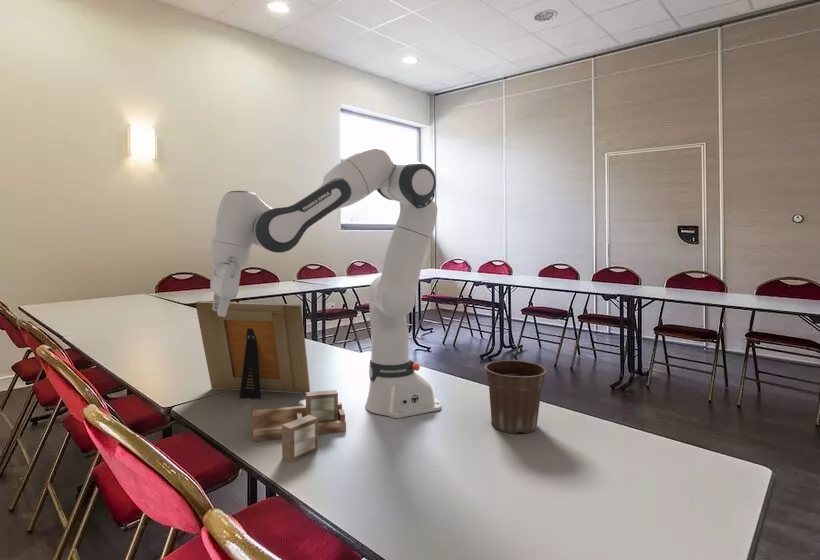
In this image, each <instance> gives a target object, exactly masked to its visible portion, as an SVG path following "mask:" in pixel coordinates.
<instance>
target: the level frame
mask: <svg viewBox="0 0 820 560" xmlns="http://www.w3.org/2000/svg"><path fill="white" fill-rule="evenodd" d="M338 397H339V393H338V391H337V389H331V390H330V389H329V390H317V391H310V392H306V393H305V400H306V416H307V415H311V416H314V417H316V418H318V423H320V422H329V421H338V403H339V398H338Z"/></svg>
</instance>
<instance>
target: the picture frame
mask: <svg viewBox="0 0 820 560" xmlns="http://www.w3.org/2000/svg"><path fill="white" fill-rule="evenodd" d="M194 304H195V308H196V314H197V319H198V324H199V329H200V334H201V339H202V344H203V349H204V355H205V360H206V365H207V371H208V376H209V380H210V381H209V382H210V386H211V389H221V390H236V391H237V390H239V396H238V397H239V399H244V398H250V400H262V396H261V395H262V393H261V392H276V393H277V392H280V393H281V392H283V393H298V394H299V393H300V394H301V393H302V394H306V392H311V386H310V377H309V368H308V357H307V349H306V348H307V347H306V339H305V330H304V329H305V327H304V319H303V310H302V304H301V303H300V304H299V303H273V302H272V303H271V302H270V303H269V302H268V303H267V302H241V301H239V302H238V301H237V302H235V301H232V302H231V301H230V304H229V306H228V309H227V313H226V316H225V317H222V316H219V315H218V314H217V312H218V311H214V310H213V309H212V308H213V301H205V300H204V301H202V300H201V301H200V300H199V301H195V303H194Z"/></svg>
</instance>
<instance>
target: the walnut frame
mask: <svg viewBox="0 0 820 560" xmlns="http://www.w3.org/2000/svg"><path fill="white" fill-rule="evenodd" d="M318 435H319V434H318V418H316V417H314V416H311V415H307V416H305V417H302V418H299V419H297V420H294V421H291V422H289V423H286V424H284V425H282V438H281V450H282V451H281V455H282V458H281V459H283V460H284V461H286V462H289V463H293V462H295V461H298V460H300V459H302V458H305V457H307V456H308V455H310V454H313V453H315V452H317V451H318V450H319V447H318V446H319V438H318V437H319V436H318Z"/></svg>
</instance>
